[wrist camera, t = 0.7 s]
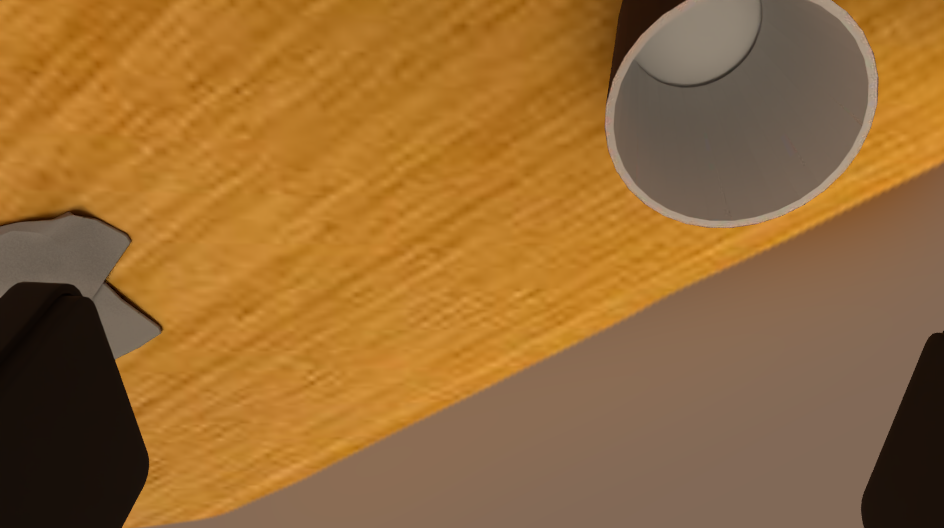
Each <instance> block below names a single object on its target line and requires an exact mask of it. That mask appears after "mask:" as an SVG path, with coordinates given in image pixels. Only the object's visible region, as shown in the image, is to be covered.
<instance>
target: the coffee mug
mask: <svg viewBox="0 0 944 528" xmlns="http://www.w3.org/2000/svg"><path fill="white" fill-rule="evenodd" d="M877 101H878V73H877V68H876V63H875V58H874V53H873V51H872V49H871V47H870V45H869V43H868V41H867V38H866V36H865V34H864V32H863V31H862V29H861V28H860V27H859V26H858V25H857V23H856V22H855V21H854V20H853V18H852V17H851V16H850V15H849V14H848V12H846V11H845V10H844V9H842V8H841V7H840V6H838V5H837V4H836V3H834V2H833V1H832V0H623V2H622V6H621V10H620V14H619V19H618V26H617V33H616V40H615V47H614V53H613V60H612V67H611V74H610V81H609V88H608V95H607V102H606V116H605V133H606V139H607V145H608V151H609V153H610V156H611V158H612V161H613V163H614V166H615V168H616V171H617V172H618V174H619V175H620V177H621V178H622V180H623V181H624V183H625V184H626V186H627V187H628V188H629V190H630V191H631V192H633V193H634V194H635V195H636V196H637V197H638V198H639V199H640V200H641V201H642V202H643V203H644V204H646V205H647V206H649V207H651V208H652V209H654V210H655V211H657V212H659V213H660V214H662V215H664V216H666V217H669V218H672V219H674V220H677V221H680V222H683V223H685V224H691V225H697V226H702V227H708V228H734V227H740V226H747V225H753V224H758V223H761V222H765V221H768V220H771V219H774V218H777V217H780V216H783V215H785V214H787V213H789V212H791V211H793V210H795V209H797V208H799V207H801V206H803V205H805V204H806V203H808V202H809V201H810V200H812V199H813V198H815V197H816V196H817V195H819V194H820V193H822V192H823V191H825V190H826V189H827V188H828V187H829V186H830V185H831V184H832V183H833V182H834V181H835V180H836V179H837V178H838V177H839V176H840V175H841V174H842V173H843V172H844V171H845V170H846V169H847V167H848V166H849V165H850V163H851V162H852V160H853V159H854V158H855V156H856V155H857V154H858V152H859V151H860V149H861V147H862V145H863V143H864V141H865V139H866V137H867V135H868V133H869V130H870V128H871V125H872V122H873V118H874V114H875V110H876V106H877Z"/></svg>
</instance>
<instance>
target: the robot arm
mask: <svg viewBox="0 0 944 528" xmlns="http://www.w3.org/2000/svg"><path fill="white" fill-rule="evenodd" d="M148 470H149V457H148V453H147V450H146V447H145V444H144V441H143V438H142V436H141V433H140V430H139V427H138V424H137V421H136V419H135V416H134V413H133V410H132V407H131V404H130V402H129V399H128V396H127V393H126V390H125V387H124V385H123V382H122V379H121V376H120V373H119V370H118V368H117V365H116V362H115V359H114V356H113V354H112V351H111V348H110V345H109V342H108V339H107V337H106V334H105V331H104V328H103V325H102V322H101V320H100V317H99V314H98V311H97V308H96V306H95V304H94V302H93V301H92V300H91V299H90V298H88V297H83V296H82V294H81V292H80V290H79V289H78V288H77V287H76V286H75V285H72V284H68V283H46V282H20V283H16V284H15V285H13V286H12V287H11V288H9V289H8V290H7V292H6V293H5V294H4V295H3V296H2V297H1V298H0V528H122V526H123V524H124V522H125V521H126V519H127V517H128V515H129V513H130V511H131V509H132V507H133V505H134V504H135V502H136V500H137V498H138V496H139V494H140V492H141V490H142V489H143V487H144V484H145V482H146V479H147V475H148ZM861 513H862V521H863V525H864V528H944V331H943V333H934V334H932V335H931V336H930V337H929V338H928V340H927V342H926V344H925V346H924V348H923V351H922V353H921V356H920V358H919V360H918V363H917V365H916V368H915V370H914V372H913V375H912V377H911V380H910V382H909V385H908V387H907V390H906V392H905V394H904V397H903V400H902V402H901V404H900V406H899V409H898V411H897V414H896V416H895V419H894V421H893V424H892V426H891V429H890V431H889V433H888V436H887V438H886V440H885V443H884V446H883V448H882V450H881V453H880V455H879V457H878V460H877V462H876V465H875V467H874V470H873V472H872V474H871V477H870V479H869V482H868V484H867V486H866V489H865V491H864V494H863V498H862V504H861Z"/></svg>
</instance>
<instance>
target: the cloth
mask: <svg viewBox="0 0 944 528" xmlns="http://www.w3.org/2000/svg"><path fill="white" fill-rule="evenodd" d="M130 242H131V240H130V238H129V237H128V235H127V234H125V233H123V232H121V231H119V230H117V229H115V228H113V227H111V226H110V225H108V224H106V223H104V222H102V221H100V220H98V219H96V218H89V217H83V216H76V215H73V214H72V213H70V212H67V213H65V214H63V215H60V216H58V217H56V218H54V219H50V220H39V221H28V222H18V223H14V224H9V225H5V226H0V298H1V297H2V296H3V295H4V294H5V293H6V292H7V290H8V289H9V288H11V287H12V286H13V285H15V284H16V283H20V282H46V283H68V284H72V285H75V286H76V287H77V288H78V289H79V290H80V292H81V294H82V296H83V297H88V298H90V299H91V300H92V301H93V302H94V304H95V306H96V308H97V311H98V314H99V317H100V320H101V322H102V325H103V328H104V331H105V334H106V337H107V339H108V342H109V345H110V348H111V351H112V354H113V356H114V359H117V358H119V357H121V356H123V355H125V354H127V353H129V352H131V351H133V350H135V349H137V348H139V347H141V346H142V345H144V344H145V343H147V342H148V341H150V340H151V339H153V338H155V337H156V336H158V335H159V334H161V329H160V326H158V325H157V324H156V323H154V322H153V321H152V320H150V319H149V318H148V317H146V316H145V315H143V314H142V313H141V312H139V311H138V310H137V309H135V308H134V307H132V306H131V305H130V304H128V303H127V302H126V301H124V300H123V299H122V298H121V297H120V296H119V295H118V294H117V293H116V292H115V291H114V290H113V289H111V288H110V287H109V286H108V285H107V284H106V283H105V282H104V280H105V279H106V277H107V276H108V274H109V273H110V272H111V270H112V269H113V267H114V266H115V264H116V263H117V261H118V260H119V258H120V257H121V255H122V254H123V252H124V251H125V250H126V248H127V247H128V245H129V244H130Z"/></svg>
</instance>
